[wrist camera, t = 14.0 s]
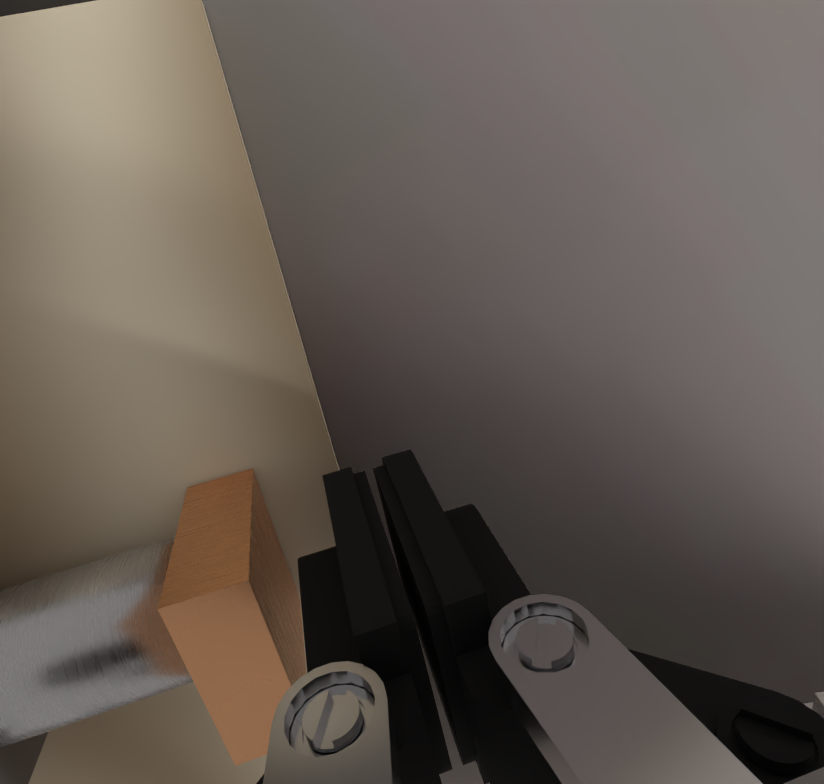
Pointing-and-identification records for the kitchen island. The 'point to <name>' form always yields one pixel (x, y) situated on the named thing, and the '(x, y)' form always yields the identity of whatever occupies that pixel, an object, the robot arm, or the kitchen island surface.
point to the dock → (137, 341)
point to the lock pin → (162, 626)
